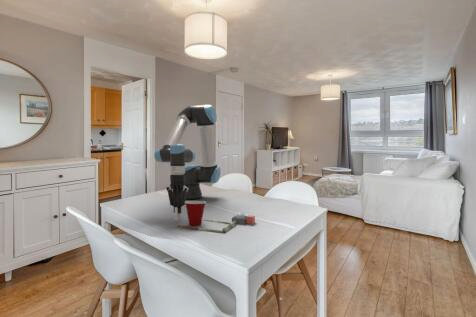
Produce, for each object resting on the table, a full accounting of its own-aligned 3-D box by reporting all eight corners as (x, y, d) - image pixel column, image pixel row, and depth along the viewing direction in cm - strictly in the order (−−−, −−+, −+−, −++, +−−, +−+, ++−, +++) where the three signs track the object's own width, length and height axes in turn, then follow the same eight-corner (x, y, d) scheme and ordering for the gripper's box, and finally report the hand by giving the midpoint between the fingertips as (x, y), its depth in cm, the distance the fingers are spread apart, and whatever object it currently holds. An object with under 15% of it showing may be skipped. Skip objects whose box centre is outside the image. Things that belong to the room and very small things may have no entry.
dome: (237, 220, 130) (237, 211, 130) (246, 221, 128) (246, 211, 128) (234, 222, 126) (234, 213, 126) (243, 223, 124) (243, 213, 124)
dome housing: (236, 220, 132) (236, 213, 132) (256, 222, 128) (256, 215, 128) (231, 223, 125) (231, 216, 125) (252, 225, 121) (252, 218, 121)
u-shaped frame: (192, 220, 132) (192, 216, 132) (236, 224, 123) (236, 220, 123) (176, 227, 118) (176, 223, 118) (224, 233, 109) (224, 228, 109)
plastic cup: (209, 222, 126) (209, 199, 126) (200, 228, 116) (200, 203, 116) (191, 221, 130) (191, 198, 130) (180, 226, 120) (180, 202, 120)
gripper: (162, 174, 126) (162, 219, 126) (184, 174, 121) (184, 222, 121) (171, 173, 133) (171, 216, 133) (192, 174, 128) (192, 218, 128)
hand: (177, 219), depth 127 cm, fingers closed
